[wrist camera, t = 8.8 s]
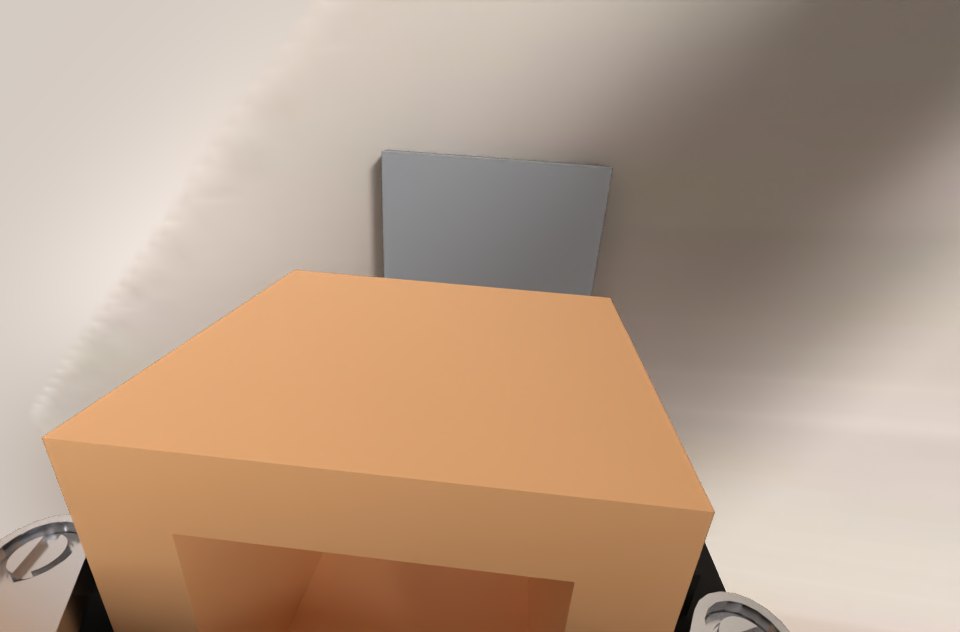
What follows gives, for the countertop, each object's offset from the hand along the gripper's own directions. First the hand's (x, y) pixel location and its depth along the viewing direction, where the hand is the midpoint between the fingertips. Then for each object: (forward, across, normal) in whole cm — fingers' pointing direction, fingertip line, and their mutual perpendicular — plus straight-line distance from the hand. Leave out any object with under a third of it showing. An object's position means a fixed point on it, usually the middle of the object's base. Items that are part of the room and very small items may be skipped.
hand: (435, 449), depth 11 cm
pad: (+14, 0, 0) cm, 14 cm away
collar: (+1, 0, 0) cm, 1 cm away
